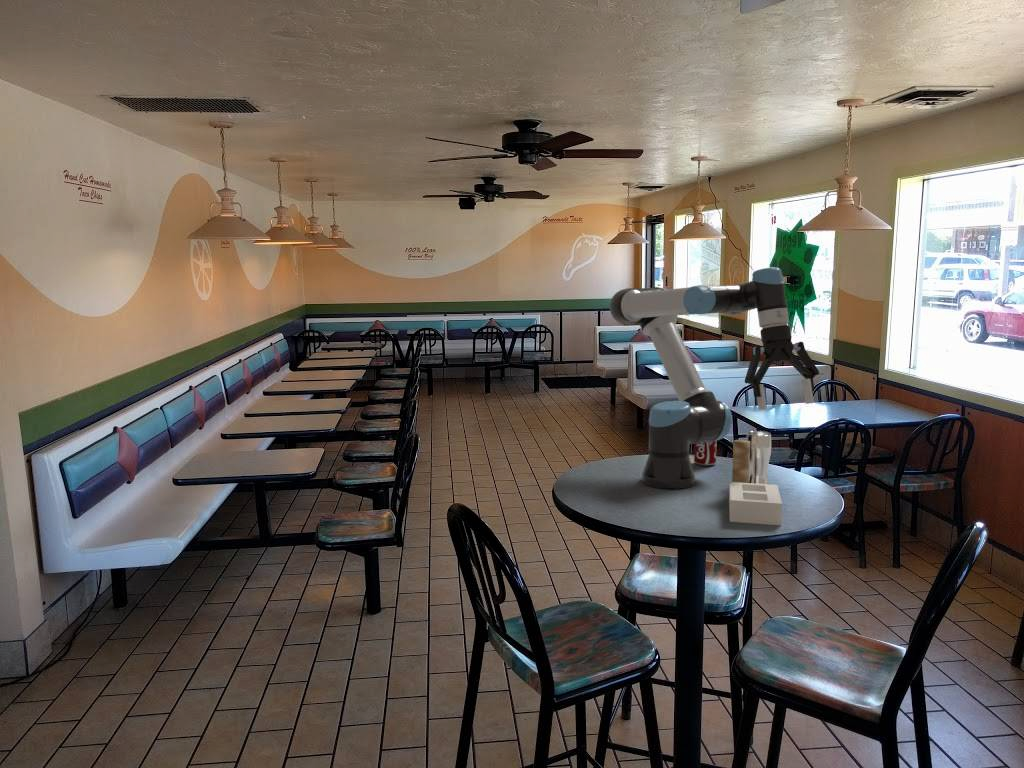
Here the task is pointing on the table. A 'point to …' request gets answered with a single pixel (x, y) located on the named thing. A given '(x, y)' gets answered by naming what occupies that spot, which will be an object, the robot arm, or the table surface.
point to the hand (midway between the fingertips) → (786, 406)
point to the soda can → (705, 453)
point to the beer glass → (759, 456)
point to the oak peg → (741, 461)
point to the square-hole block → (755, 503)
